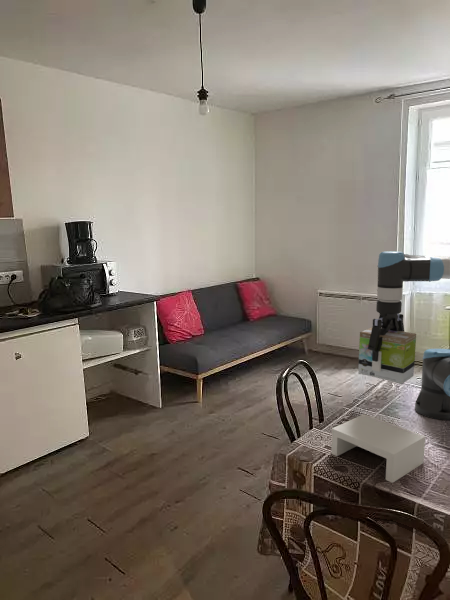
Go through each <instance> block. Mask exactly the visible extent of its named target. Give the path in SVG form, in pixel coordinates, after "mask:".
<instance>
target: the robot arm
mask: <svg viewBox="0 0 450 600" xmlns="http://www.w3.org/2000/svg"><path fill="white" fill-rule="evenodd" d="M442 279H444V280H450V256H441V255H419V254H418V255H417V254H415V255H414V254H407V253H406V254H405V253H404V252H403V251H396V250H395V251H390V250H389V251H387V250H386V251H381V252H380V253H379V255H378V259H377V289H376V292H377V293H376V298H377V301H376V310H375V311H376V312H377V313H378V314H379V315H378V316H379V317H378V318H373V319H372V326H371V327H372V331H371V336H370V340H369V345H368V349H369V350H372V370H374V371H378V372H380V371H381V353H382V351H380V349H381V346H382V338H383V337H380V335H386V333H387V332H388V331H389V330H392V331H403V332H405V325H404V314H401V313H402V306H403V305H402V303H403V302H402V301H401V300H403V287H404V284H403V283H404V282H429V283H430V282H438V281H440V280H442ZM421 368H422V371H421V385H420V386H421V388H420V391H419V393H418V396H417V398H416V400H415V402H414V410H415V411H416V412H417V413H418V414H419V415H422V416H424V417H426V418H430V419H435V420H442V421H443V420H444V421H448V420H449V421H450V349H449V348H429V349H428V348H427V349H426V350H424V351H423V356H422V367H421Z"/></svg>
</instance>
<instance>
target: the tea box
mask: <svg viewBox="0 0 450 600" xmlns="http://www.w3.org/2000/svg"><path fill="white" fill-rule="evenodd" d="M372 327H373V326H371V327H369V328H367V329H365V330H362V331H360V332H359V343H358V344H359V345H358V348H359V349H358V366H357V367H358V371H357V372H358V375H363V376H368V377H373V378H376V379H381V380H384V381H389V382H391V383H395V384H400V385H403V384H405V383H406V382H407V381H409V380H411V378H413V377H414V373H415V361H416V344H417V333H416V332H415V333H414V332H409V331H408V332H407V331H404V332H403V331H392V330H389V331H388V332H387V333H386V335H380V337H383V338H382V346H381V349H380V351H382V353H381V371H380V372H378V371H374V370H372V350H369V349H368V345H369V340H370V336H371V331H372Z"/></svg>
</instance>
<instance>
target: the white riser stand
mask: <svg viewBox="0 0 450 600" xmlns="http://www.w3.org/2000/svg"><path fill="white" fill-rule="evenodd" d="M425 445H426V436H425V435H422V434H421V433H417V432H415V431H411V430H410V429H409V430H408V429H406V428H403V427H401V426H397V425H395V424H392V423H390V422H388V421H384V420H381V419H379V418H376V417H374V416H370V415H368V414H365V413H363V414H361V415H359V416H356V417H355V418H352V419H350V420H348V421H344V422H343V423H341V424H339V425H337V426H334V427H332V428H331V444H330V447H331V449H330V451H331V452H330V453H331V455H333V456H335V457H338V456H340V455H342V454H344V453H346V452H348V451H350V450H351V449H354V448H356V447H359V448H361V449H364V450H365V451H369V452H370V453H372V454H375V455H377V456H380V457H382V458H384V459H386V467H385V480H386V482H387V481H388V482H390V483H391V484H393V483H395V482H397V481H398V480H400V479H401V478H402V477H404V476H405V475H407V474H408V473H410V472H412V471H414V470H415V469H416V468H418V467H419V466H421V465H422V464H424V462H425V461H424V460H425V448H426V447H425Z"/></svg>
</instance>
